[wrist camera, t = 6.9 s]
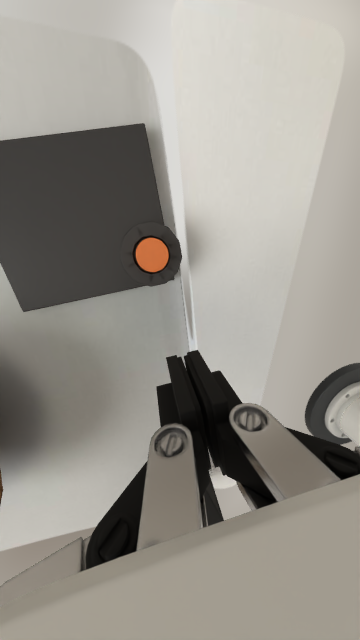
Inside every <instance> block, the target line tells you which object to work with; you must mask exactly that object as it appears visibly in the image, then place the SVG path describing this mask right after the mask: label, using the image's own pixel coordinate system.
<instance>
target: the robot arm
mask: <svg viewBox="0 0 360 640" xmlns="http://www.w3.org/2000/svg"><path fill="white" fill-rule="evenodd" d="M166 359H167V364H168V369H169V373H170V378H171V382H172V383H168V384H165V385H161V386H157V397H158V406H159V415H160V424H161V428H159V429H158V430H157V431H156V432H155V433H154V435H153V437H152V438H151V442H150V446H149V454H148V461H147V462H146V463H145V465H144V466H143V467H142V468H141V470H140V471H139V472H138V474H137V475H136V476H135V477H134V479H133V480H132V481H131V483H130V484H129V485H128V486H127V488H126V489H125V490H124V492H123V493H122V494H121V495H120V497H119V498H118V499H117V501H116V502H115V503H114V504H113V506H112V507H111V508H110V510H109V511H108V512H107V513H106V515H105V516H104V517H103V518H102V520H101V521H100V522H99V524H98V525H97V527H96V528H95V530H94V532H93V533H92V535H91V536H89V537H88V538H86V539H84V540H83V539H82V537H80V538H78V539H76V540H75V541H73V542H71V543H70V544H68V545H66V546H65V547H63V548H61V549H60V550H58V551H56V552H55V553H53V554H51V555H50V556H48V557H46V558H45V559H43V560H41V561H40V562H38V563H37V564H35V565H33V566H31V567H30V568H28V569H26V570H25V571H23V572H21V573H20V574H18V575H16V576H15V577H13V578H11V579H10V580H8V581H6V582H5V583H3V584H2V585H1V586H0V640H360V381H359V382H356V383H353V384H351V385H349V386H347V387H345V388H344V389H342V390H341V391H340V392H339V393H338V394H337V395H336V396H335V397H334V398H333V399H332V401H331V402H330V404H329V406H328V408H327V410H326V413H325V425H326V428H327V429H328V430H329V431H330V432H331V433H332V434H333V435H334V436H336V437H339V438H350V439H351V440H352V441H353V442H354V443H356V444H357V445H358V446H359V447H355V451H351V450H350V449H348V448H346V447H343V446H341V445H338V444H335V443H332V442H329V441H326V440H323V439H320V438H317V437H314V436H311V435H308V434H304V433H301V432H298V431H295V430H292V429H289V428H286V427H284V426H283V425H282V424H281V423H280V422H279V421H277V419H276V418H274V417H273V416H272V415H271V414H270V413H269V412H268V411H267V410H266V409H264V408H263V407H261V406H259V405H257V404H252V403H242V402H241V400H240V399H239V398H238V396H237V395H236V393H235V392H234V390H233V389H232V387H231V386H230V384H229V383H228V381H227V380H226V379H225V377H224V376H223V374H222V373H221V371H215V372H211V371H210V370H209V368H208V366H207V365H206V363H205V361H204V360H203V358H202V356H201V355H200V353H199V351H198V350H195V351H191V352H187V355H186V356H184V360H185V365H186V368H185V366H184V363H183V361H182V358H181V357H178V358H177V356H176V355H175V356H170V357H166ZM186 370H187V371H186ZM208 449H209V452H210V455H211V458H212V460H213V463H214V466H215V468H216V467H219V466H220V468H221V471H222V474H223V476H224V475H227V476H228V477H230V478H232V479H234V480H236V481H237V485H238V487H239V490H240V491H241V493H242V495H243V496H244V498H245V500H246V502H247V503H248V505H249V507H250V508H251V510H252V511H251V512H248V513H245V514H242V515H239V516H236V517H233V518H231V519H228V520H225V521H222V522H219V523H216V524H213V525H210V526H208V523H207V515H206V507H205V499H204V494H205V492H206V489H207V487H208V485H209V483H210V476H209V469H211V464H210V458H209V452H208Z"/></svg>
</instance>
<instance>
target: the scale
mask: <svg viewBox="0 0 360 640" xmlns="http://www.w3.org/2000/svg"><path fill="white" fill-rule="evenodd" d="M147 238H156V239H159V240H161V241H162V242H163V243H164V244H165V245H166V247H167V249H168V253H169V258H168V262H167V264H166V266H165V267H164V268H163V269H161V270H160V271H157V272H149V271H146V270H144V269H143V268H142V267H141V266H140V265H139V264H138V262H137V259H136V249H137V247H138V245H139V243H140V242H141V241H143V240H144V239H147ZM181 259H182V255H181V248H180V243H179V240H178V239H177V238H176V236H175V235H174V234H173V233H172V231H171V230H170V229H169V228H168V227H166V226H164V222H163V216H162V211H161V206H160V201H159V196H158V191H157V185H156V180H155V175H154V170H153V165H152V159H151V154H150V149H149V144H148V139H147V134H146V128H145V124H144V123H142V124H134V125H126V126H118V127H110V128H101V129H93V130H85V131H77V132H69V133H61V134H52V135H44V136H36V137H28V138H20V139H12V140H3V141H0V263H1V265H2V267H3V269H4V272H5V274H6V276H7V278H8V280H9V282H10V284H11V287H12V289H13V291H14V293H15V295H16V297H17V299H18V302H19V304H20V306H21V308H22V310H23V312H26V311H31V310H35V309H40V308H45V307H49V306H54V305H59V304H63V303H68V302H73V301H77V300H82V299H87V298H91V297H96V296H101V295H105V294H110V293H114V292H119V291H124V290H128V289H133V288H138V287H142V286H155V285H160V284H165V283H167V282H168V281H170V280H174V275H175V274H176V273H177V272H178V269H179V266H180V263H181Z"/></svg>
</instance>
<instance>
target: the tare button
mask: <svg viewBox="0 0 360 640" xmlns="http://www.w3.org/2000/svg"><path fill="white" fill-rule="evenodd" d="M168 258H169V253H168V249H167V247H166V245H165V244H164V243H163V242H162V241H161V240H159V239H156V238H147V239H144V240H143V241H141V242H140V243H139V245H138V247H137V249H136V259H137V262H138V264H139V265H140V266H141V267H142V268H143V269H144V270H146V271H149V272H157V271H160V270H161V269H163V268H164V267H165V266H166V264H167V262H168Z"/></svg>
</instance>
